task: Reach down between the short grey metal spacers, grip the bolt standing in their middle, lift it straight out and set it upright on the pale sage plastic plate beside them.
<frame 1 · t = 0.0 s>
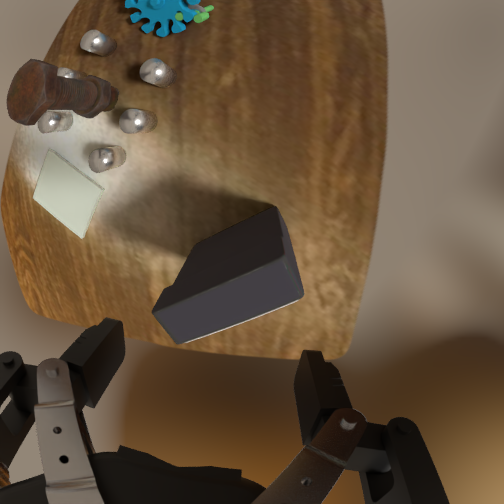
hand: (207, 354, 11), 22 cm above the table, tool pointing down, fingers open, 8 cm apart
bolt: (111, 99, 26), on the table
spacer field: (110, 99, 26), on the table
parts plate: (65, 192, 31), on the table
gear: (173, 13, 22), on the table
dark grey slab: (239, 235, 33), on the table
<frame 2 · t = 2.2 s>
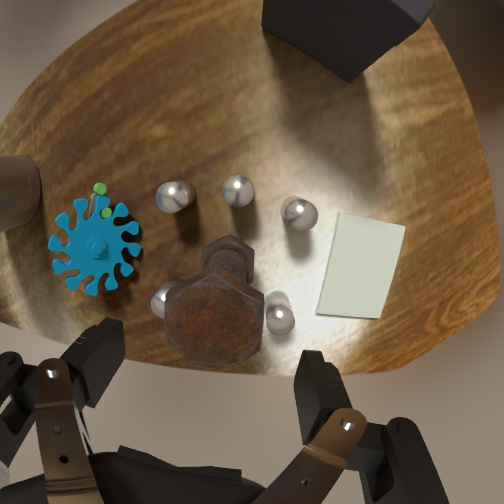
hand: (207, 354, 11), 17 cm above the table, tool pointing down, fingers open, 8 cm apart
bolt: (231, 249, 28), on the table
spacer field: (231, 250, 28), on the table
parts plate: (361, 268, 29), on the table
gear: (112, 232, 28), on the table
dark grey slab: (312, 45, 22), on the table
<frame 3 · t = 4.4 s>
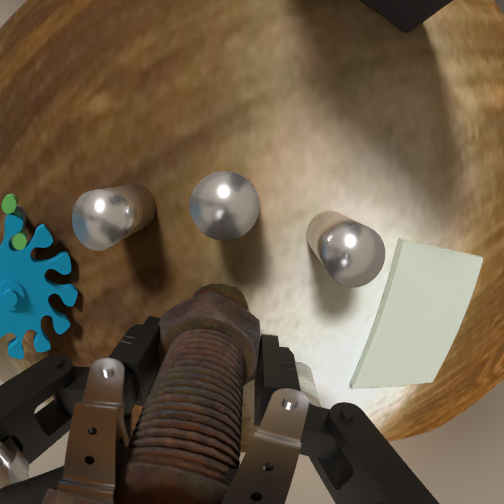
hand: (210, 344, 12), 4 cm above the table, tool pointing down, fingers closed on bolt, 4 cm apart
bolt: (220, 301, 16), on the table, touching gripper
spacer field: (219, 303, 16), on the table
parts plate: (420, 322, 17), on the table
gear: (43, 264, 16), on the table
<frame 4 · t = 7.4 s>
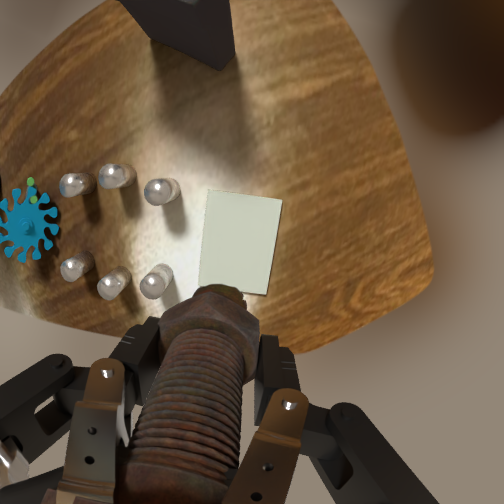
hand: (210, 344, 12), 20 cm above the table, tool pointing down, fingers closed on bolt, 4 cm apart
bolt: (220, 301, 16), point 15 cm above the table, touching gripper
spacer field: (122, 227, 31), on the table
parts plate: (238, 243, 31), on the table
gear: (43, 215, 30), on the table
dark grey slab: (191, 44, 25), on the table
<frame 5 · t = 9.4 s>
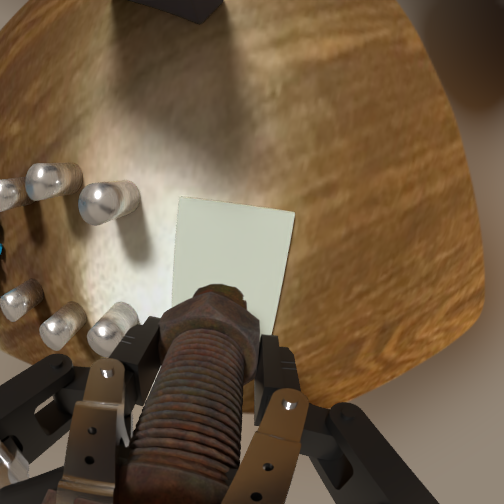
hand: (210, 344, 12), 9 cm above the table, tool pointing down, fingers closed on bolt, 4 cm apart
bolt: (220, 301, 16), point 4 cm above the table, touching gripper
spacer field: (69, 250, 20), on the table
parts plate: (227, 277, 21), on the table
when the fingers open (6 cm above the table, at t = 10.8 s): bolt drops 1 cm, resting on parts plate.
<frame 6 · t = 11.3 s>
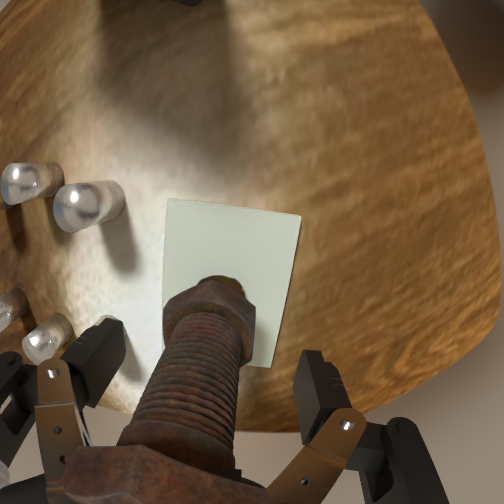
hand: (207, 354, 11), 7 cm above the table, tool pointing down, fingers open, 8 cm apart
bolt: (220, 292, 18), resting on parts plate
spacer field: (52, 258, 18), on the table
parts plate: (223, 290, 18), on the table
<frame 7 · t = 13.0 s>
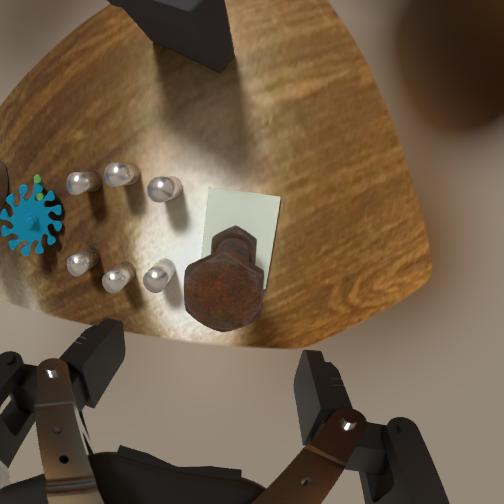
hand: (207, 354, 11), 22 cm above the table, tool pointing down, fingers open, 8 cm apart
bolt: (236, 239, 32), resting on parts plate
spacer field: (127, 224, 32), on the table
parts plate: (238, 238, 32), on the table
gear: (48, 211, 32), on the table
dark grey slab: (192, 47, 26), on the table
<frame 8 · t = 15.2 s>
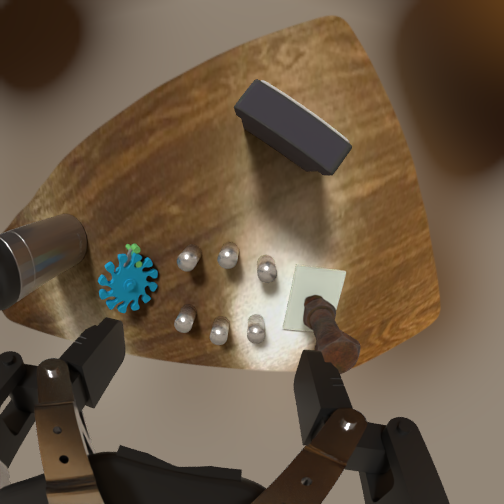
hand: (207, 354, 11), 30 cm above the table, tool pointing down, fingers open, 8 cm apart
bolt: (313, 301, 43), resting on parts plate
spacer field: (225, 288, 43), on the table
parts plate: (313, 300, 43), on the table
gear: (138, 271, 43), on the table
dark grey slab: (281, 141, 37), on the table
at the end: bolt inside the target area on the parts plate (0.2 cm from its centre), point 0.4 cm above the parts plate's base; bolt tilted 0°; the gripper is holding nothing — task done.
